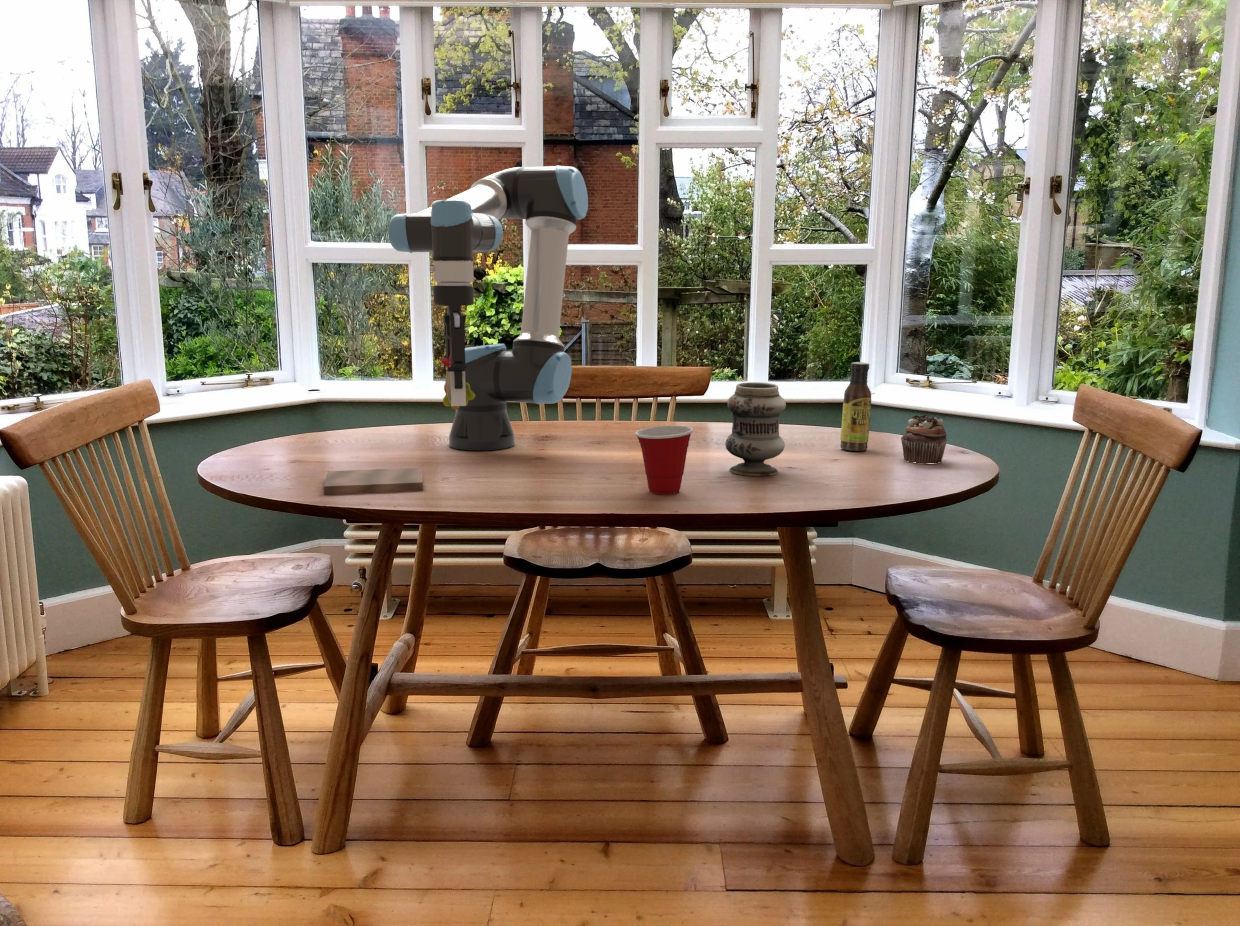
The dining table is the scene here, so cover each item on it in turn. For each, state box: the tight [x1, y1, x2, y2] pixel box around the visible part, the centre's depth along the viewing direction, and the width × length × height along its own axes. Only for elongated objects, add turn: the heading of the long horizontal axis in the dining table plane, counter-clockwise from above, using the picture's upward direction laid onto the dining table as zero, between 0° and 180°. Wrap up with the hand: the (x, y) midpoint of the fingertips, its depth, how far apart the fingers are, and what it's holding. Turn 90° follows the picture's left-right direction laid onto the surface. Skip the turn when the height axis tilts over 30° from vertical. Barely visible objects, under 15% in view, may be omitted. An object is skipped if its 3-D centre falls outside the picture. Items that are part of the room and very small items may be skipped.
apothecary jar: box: [724, 381, 787, 477], centre depth 212 cm, size 12×12×18 cm
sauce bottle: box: [840, 361, 872, 452], centre depth 236 cm, size 6×6×20 cm
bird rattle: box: [439, 356, 475, 410], centre depth 199 cm, size 6×11×9 cm
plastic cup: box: [634, 425, 693, 496], centre depth 194 cm, size 11×11×12 cm
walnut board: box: [323, 467, 424, 495], centre depth 200 cm, size 18×14×2 cm
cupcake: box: [900, 414, 948, 464], centre depth 225 cm, size 10×10×10 cm
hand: (456, 402), depth 201 cm, fingers closed on bird rattle, 9 cm apart
